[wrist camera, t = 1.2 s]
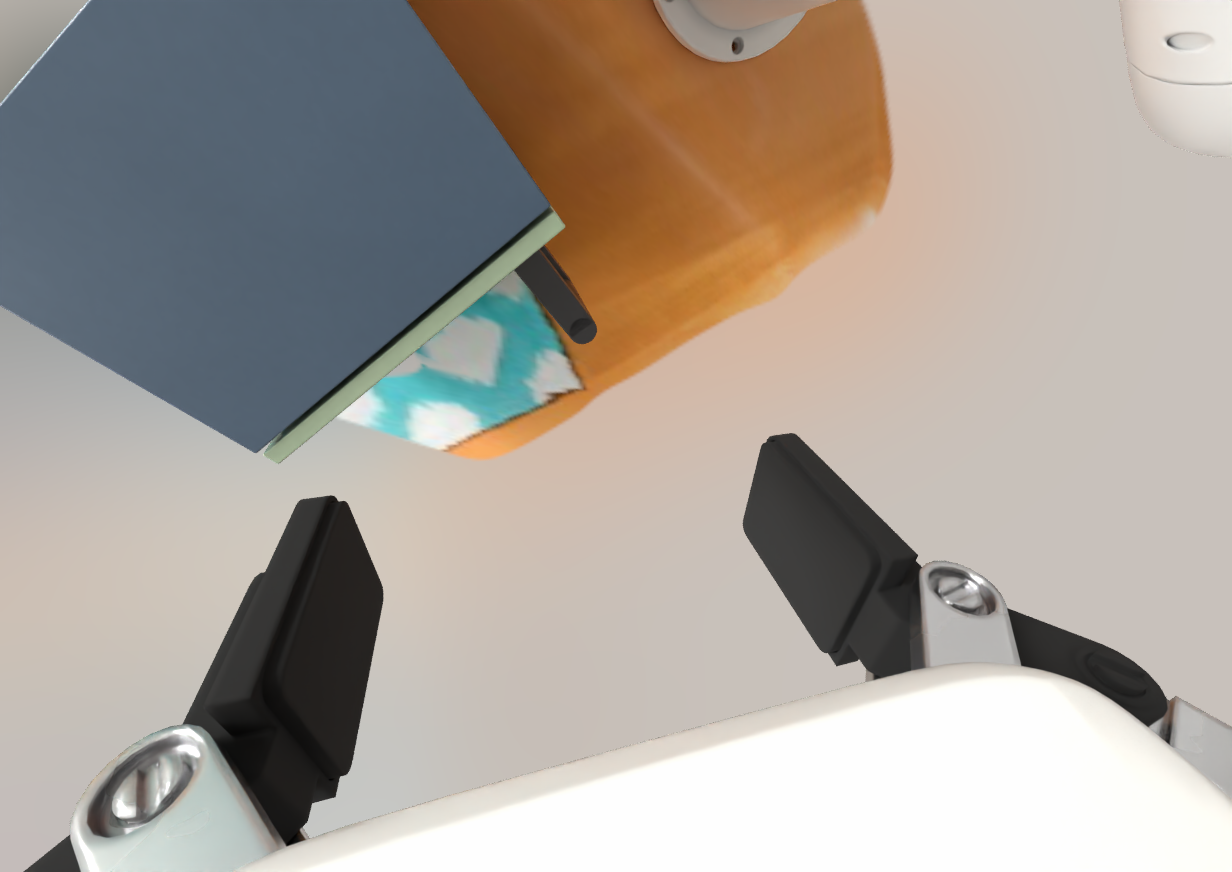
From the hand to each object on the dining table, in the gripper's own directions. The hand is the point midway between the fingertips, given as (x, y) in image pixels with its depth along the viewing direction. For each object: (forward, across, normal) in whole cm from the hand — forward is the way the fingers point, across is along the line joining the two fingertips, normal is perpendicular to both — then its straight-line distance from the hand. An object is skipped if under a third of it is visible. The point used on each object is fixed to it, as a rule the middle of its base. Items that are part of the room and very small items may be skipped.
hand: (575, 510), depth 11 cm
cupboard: (+30, +9, -4) cm, 32 cm away
